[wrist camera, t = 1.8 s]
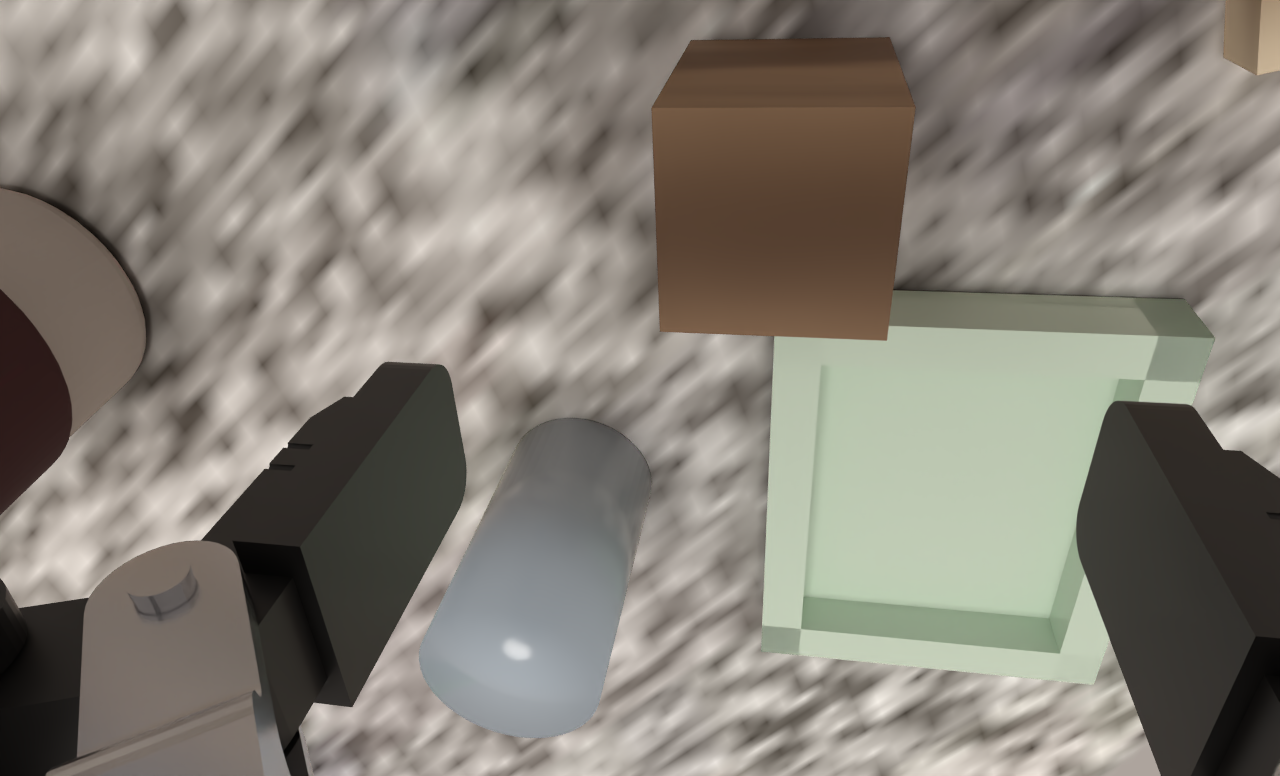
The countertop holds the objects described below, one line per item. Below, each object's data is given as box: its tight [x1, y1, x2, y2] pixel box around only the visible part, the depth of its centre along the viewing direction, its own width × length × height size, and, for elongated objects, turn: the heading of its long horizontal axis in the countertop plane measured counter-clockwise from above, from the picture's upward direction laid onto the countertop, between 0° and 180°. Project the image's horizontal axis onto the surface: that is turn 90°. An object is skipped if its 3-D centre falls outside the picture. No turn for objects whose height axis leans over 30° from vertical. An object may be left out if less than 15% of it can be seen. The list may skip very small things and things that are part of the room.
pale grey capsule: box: [419, 418, 652, 738], centre depth 25 cm, size 5×5×8 cm
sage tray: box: [761, 290, 1215, 685], centre depth 25 cm, size 12×10×2 cm
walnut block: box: [652, 37, 915, 341], centre depth 19 cm, size 4×4×6 cm
